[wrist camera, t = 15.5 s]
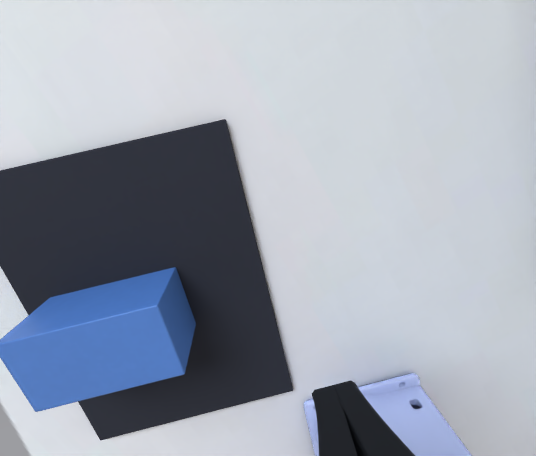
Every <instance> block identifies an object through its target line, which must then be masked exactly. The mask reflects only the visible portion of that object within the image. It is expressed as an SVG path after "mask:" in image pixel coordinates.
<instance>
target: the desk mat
mask: <svg viewBox="0 0 536 456" xmlns="http://www.w3.org/2000/svg"><path fill="white" fill-rule="evenodd" d="M0 266H1V268H2V270H3V271H4V273H5V275H6V277H7V278H8V280H9V282H10V284H11V285H12V287H13V289H14V291H15V292H16V294H17V296H18V298H19V299H20V301H21V303H22V304H23V306H24V308H25V310H26V311H27V313H28V315H30V314H31V313H32V312H33V311H35V310H36V309H37V308H38V307H39V306H41V305H42V304H43V303H44V302H45V301H46V300H48V299H49V298H50V297H54V296H58V295H62V294H66V293H71V292H75V291H79V290H83V289H87V288H91V287H95V286H99V285H104V284H108V283H112V282H116V281H120V280H124V279H128V278H132V277H136V276H141V275H145V274H149V273H153V272H157V271H161V270H165V269H169V268H174V267H176V269H177V272H178V274H179V277H180V280H181V283H182V286H183V289H184V291H185V294H186V297H187V300H188V303H189V305H190V308H191V311H192V314H193V317H194V319H195V322H196V326H195V330H194V335H193V339H192V344H191V348H190V353H189V357H188V361H187V366H186V370H185V374H184V375H180V376H176V377H172V378H168V379H164V380H160V381H156V382H152V383H148V384H144V385H140V386H136V387H132V388H129V389H125V390H121V391H117V392H113V393H109V394H105V395H101V396H97V397H93V398H89V399H85V400H81V401H78V402H79V404H80V406H81V407H82V409H83V411H84V412H85V414H86V416H87V418H88V419H89V421H90V423H91V425H92V426H93V428H94V430H95V432H96V433H97V435H98V437H99V439H100V440H104V439H108V438H112V437H116V436H119V435H123V434H127V433H131V432H135V431H139V430H143V429H146V428H150V427H154V426H158V425H162V424H166V423H170V422H173V421H177V420H181V419H185V418H189V417H193V416H197V415H200V414H204V413H208V412H212V411H216V410H220V409H224V408H228V407H231V406H235V405H239V404H243V403H247V402H251V401H255V400H258V399H262V398H266V397H270V396H274V395H278V394H282V393H285V392H289V391H293V388H292V384H291V380H290V376H289V372H288V368H287V364H286V360H285V356H284V352H283V348H282V344H281V339H280V335H279V331H278V327H277V323H276V319H275V315H274V311H273V307H272V303H271V299H270V295H269V291H268V287H267V283H266V279H265V275H264V271H263V267H262V263H261V259H260V255H259V251H258V247H257V243H256V239H255V235H254V231H253V227H252V223H251V219H250V215H249V211H248V207H247V203H246V199H245V195H244V191H243V187H242V183H241V179H240V175H239V171H238V167H237V163H236V159H235V155H234V151H233V147H232V143H231V139H230V135H229V131H228V127H227V123H226V120H225V119H224V120H220V121H215V122H211V123H207V124H202V125H198V126H194V127H189V128H185V129H180V130H176V131H172V132H167V133H163V134H159V135H154V136H150V137H145V138H141V139H137V140H132V141H128V142H124V143H119V144H115V145H110V146H106V147H102V148H97V149H93V150H89V151H84V152H80V153H75V154H71V155H67V156H62V157H58V158H54V159H49V160H45V161H40V162H36V163H32V164H27V165H23V166H19V167H14V168H10V169H5V170H1V171H0Z"/></svg>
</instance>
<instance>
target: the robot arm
mask: <svg viewBox="0 0 536 456" xmlns="http://www.w3.org/2000/svg"><path fill="white" fill-rule="evenodd" d="M312 396H313V399H311V400H308V401H306V402H305V403H304V410H305V414H306V419H307V423H308V427H309V431H310V435H311V440H312V444H313V448H314V452H315V456H472V455H471V454H470V452H469V451H468V450H467V448H466V447H465V445H464V444H463V443H462V441H461V440H460V439H459V437H458V436H457V435H456V433H455V432H454V431H453V429H452V428H451V427H450V425H449V424H448V422H447V421H446V420H445V418H444V417H443V416H442V414H441V413H440V412H439V410H438V409H437V408H436V406H435V405H434V404H433V402H432V401H431V399H430V398H429V397H428V395H427V394H426V393H425V391H424V390H423V389H422V387H421V386H420V379H419V377H418V376H417V374H415V373H411V374H407V375H403V376H399V377H395V378H392V379H388V380H384V381H380V382H376V383H372V384H369V385H365V386H361V387H357V386H356V384H355V383H354V382H353V381H347V382H343V383H340V384H336V385H332V386H328V387H324V388H320V389H316V390H314V392H313V393H312Z"/></svg>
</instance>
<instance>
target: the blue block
mask: <svg viewBox="0 0 536 456" xmlns="http://www.w3.org/2000/svg"><path fill="white" fill-rule="evenodd" d="M195 326H196V322H195V319H194V317H193V314H192V311H191V308H190V305H189V303H188V300H187V297H186V294H185V291H184V289H183V286H182V283H181V280H180V277H179V274H178V272H177V269H176V267H174V268H169V269H165V270H161V271H157V272H153V273H149V274H145V275H141V276H136V277H132V278H128V279H124V280H120V281H116V282H112V283H108V284H104V285H99V286H95V287H91V288H87V289H83V290H79V291H75V292H71V293H66V294H62V295H58V296H54V297H50V298H49V299H48V300H46V301H45V302H44V303H43V304H42V305H41V306H39V307H38V308H37V309H36V310H35V311H33V312H32V313H31V314H30V315H29V316H28V317H26V318H25V319H24V320H23V321H22V322H21V323H19V324H18V325H17V326H16V327H15V328H13V329H12V330H11V331H10V332H9V333H8V334H6V335H5V336H4V337H3V338H2V339H0V358H1V359H2V361H3V362H4V364H5V365H6V367H7V369H8V370H9V372H10V373H11V375H12V376H13V378H14V379H15V381H16V382H17V384H18V386H19V387H20V389H21V390H22V392H23V393H24V395H25V396H26V398H27V399H28V401H29V403H30V404H31V406H32V407H33V409H34V410H35V411H36V412H38V411H42V410H46V409H50V408H54V407H58V406H62V405H66V404H70V403H73V402H77V401H81V400H85V399H89V398H93V397H97V396H101V395H105V394H109V393H113V392H117V391H121V390H125V389H129V388H132V387H136V386H140V385H144V384H148V383H152V382H156V381H160V380H164V379H168V378H172V377H176V376H180V375H184V374H185V370H186V366H187V361H188V357H189V353H190V348H191V344H192V339H193V335H194V330H195Z"/></svg>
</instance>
